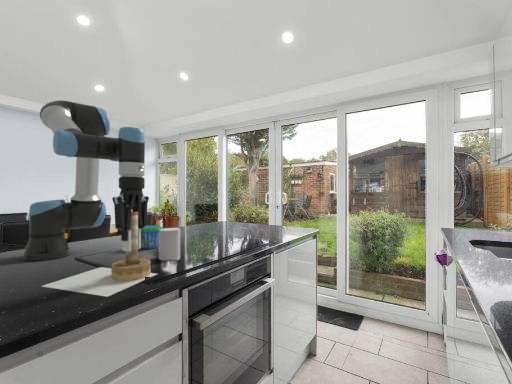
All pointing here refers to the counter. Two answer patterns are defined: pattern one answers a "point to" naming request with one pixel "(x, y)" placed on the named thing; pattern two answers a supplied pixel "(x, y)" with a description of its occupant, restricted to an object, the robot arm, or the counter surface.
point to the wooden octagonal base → (130, 270)
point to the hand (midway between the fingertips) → (131, 249)
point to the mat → (94, 283)
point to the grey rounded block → (169, 244)
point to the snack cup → (150, 237)
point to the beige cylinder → (133, 239)
